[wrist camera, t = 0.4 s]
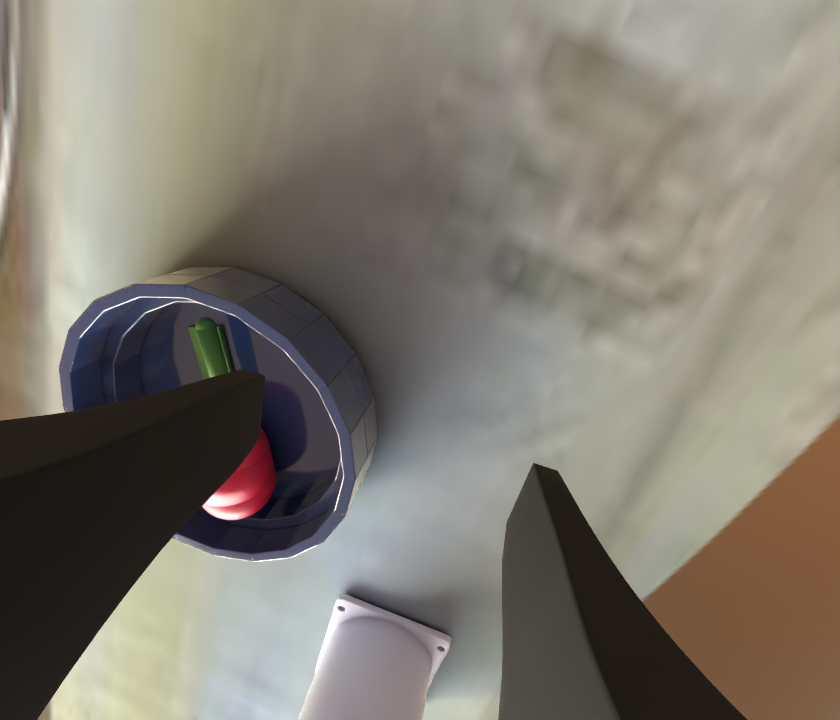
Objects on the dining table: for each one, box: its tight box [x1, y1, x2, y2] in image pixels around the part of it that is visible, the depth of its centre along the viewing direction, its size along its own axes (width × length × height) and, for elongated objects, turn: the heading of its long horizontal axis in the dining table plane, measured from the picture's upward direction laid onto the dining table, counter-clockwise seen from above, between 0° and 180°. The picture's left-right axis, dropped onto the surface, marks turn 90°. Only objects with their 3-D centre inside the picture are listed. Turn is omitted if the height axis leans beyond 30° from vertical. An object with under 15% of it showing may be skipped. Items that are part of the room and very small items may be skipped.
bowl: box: [59, 267, 378, 562], centre depth 22 cm, size 15×15×4 cm
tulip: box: [188, 317, 276, 520], centre depth 22 cm, size 11×4×4 cm, turn 4°
